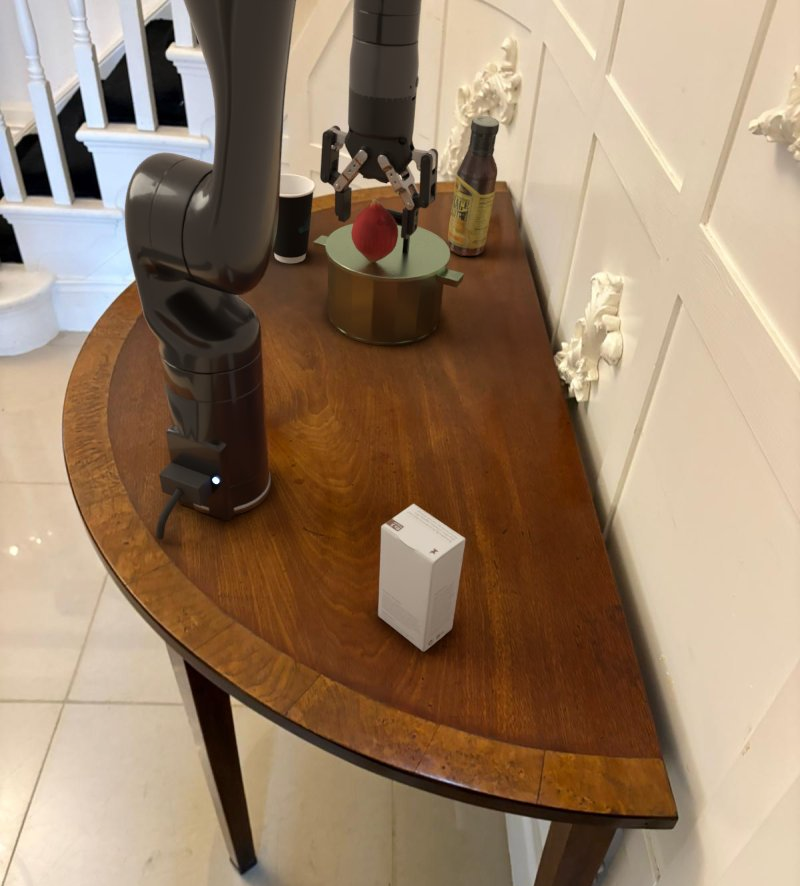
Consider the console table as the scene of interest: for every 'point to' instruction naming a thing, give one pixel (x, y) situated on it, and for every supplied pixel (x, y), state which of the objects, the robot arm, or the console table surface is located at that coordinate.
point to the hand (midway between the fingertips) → (375, 228)
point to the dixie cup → (293, 218)
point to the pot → (385, 305)
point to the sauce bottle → (474, 190)
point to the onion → (375, 232)
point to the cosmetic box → (419, 576)
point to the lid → (391, 255)
